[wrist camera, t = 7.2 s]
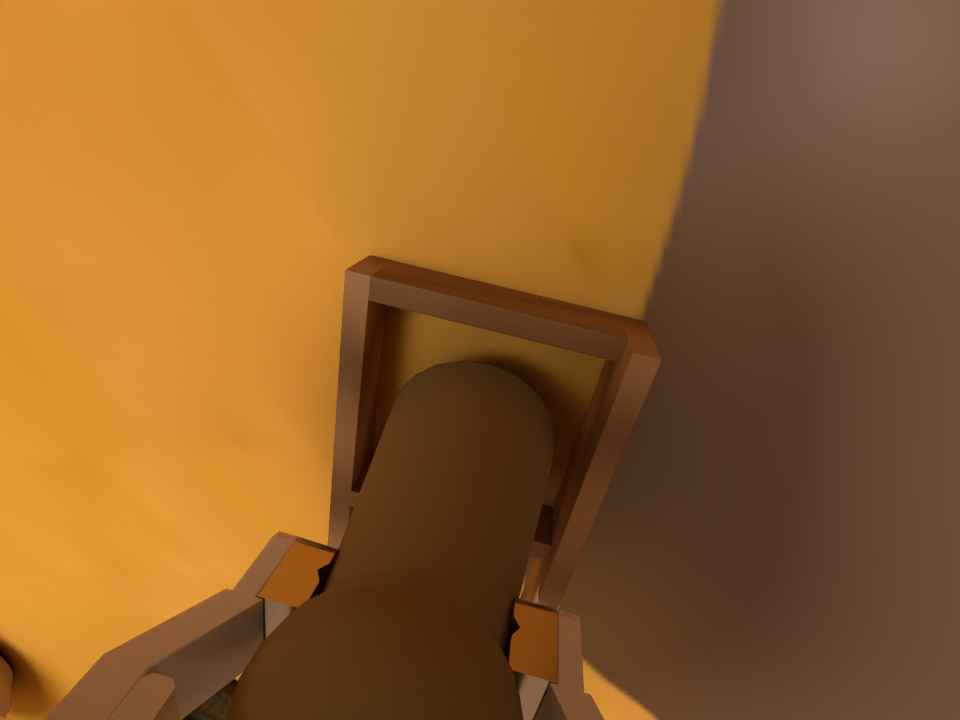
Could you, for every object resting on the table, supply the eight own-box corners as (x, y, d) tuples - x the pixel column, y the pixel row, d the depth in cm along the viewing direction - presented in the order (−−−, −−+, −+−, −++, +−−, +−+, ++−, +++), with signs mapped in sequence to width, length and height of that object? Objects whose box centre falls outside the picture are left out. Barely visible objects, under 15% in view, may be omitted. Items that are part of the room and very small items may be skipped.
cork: (556, 510, 17) (546, 994, 7) (400, 499, 18) (210, 912, 8) (558, 361, 15) (546, 798, 5) (377, 359, 16) (71, 715, 6)
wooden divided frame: (369, 255, 16) (314, 288, 13) (651, 322, 15) (677, 378, 12) (340, 598, 24) (301, 677, 21) (522, 651, 24) (515, 741, 20)
